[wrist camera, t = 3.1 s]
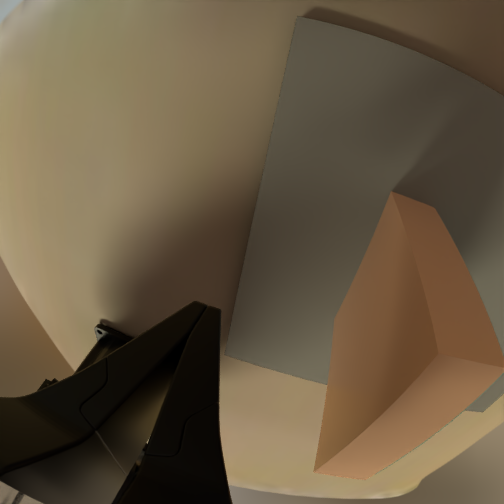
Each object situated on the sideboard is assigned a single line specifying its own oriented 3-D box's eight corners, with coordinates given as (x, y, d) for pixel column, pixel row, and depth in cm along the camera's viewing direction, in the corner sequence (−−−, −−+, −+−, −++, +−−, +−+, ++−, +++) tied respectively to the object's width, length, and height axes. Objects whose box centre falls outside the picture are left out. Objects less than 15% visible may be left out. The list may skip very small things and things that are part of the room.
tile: (334, 318, 15) (313, 472, 9) (391, 191, 11) (438, 353, 5) (375, 330, 15) (372, 480, 9) (440, 210, 11) (515, 370, 5)
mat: (227, 347, 19) (224, 354, 19) (299, 18, 9) (297, 16, 9) (481, 406, 17) (482, 412, 17) (625, 202, 7) (630, 207, 7)
